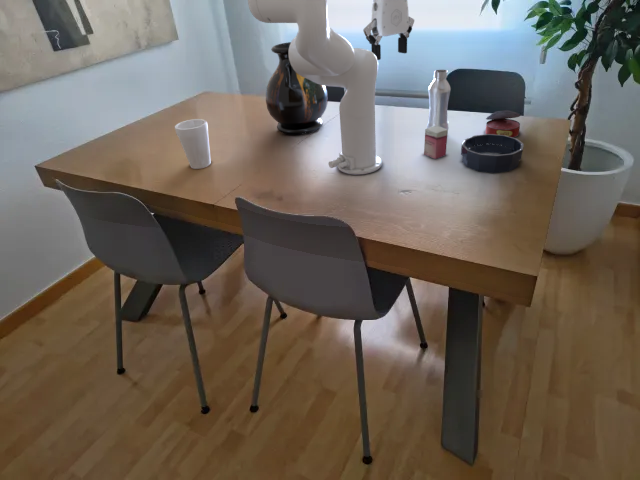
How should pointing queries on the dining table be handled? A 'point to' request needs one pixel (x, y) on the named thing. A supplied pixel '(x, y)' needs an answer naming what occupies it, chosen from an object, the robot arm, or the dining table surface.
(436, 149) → the small box
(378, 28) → the robot arm
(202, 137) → the foam cup
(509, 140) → the ring
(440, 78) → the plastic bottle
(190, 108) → the dining table surface
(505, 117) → the canned food
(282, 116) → the amphora vase
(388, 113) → the dining table surface
